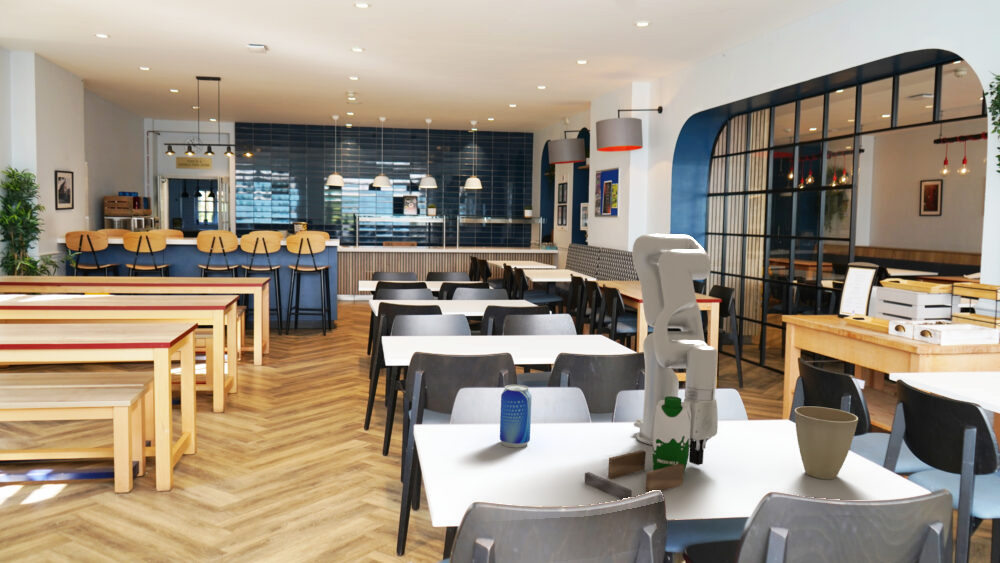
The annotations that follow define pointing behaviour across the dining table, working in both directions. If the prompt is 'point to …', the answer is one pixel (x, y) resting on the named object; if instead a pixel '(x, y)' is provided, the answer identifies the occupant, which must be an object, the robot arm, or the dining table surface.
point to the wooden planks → (633, 464)
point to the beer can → (515, 416)
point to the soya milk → (671, 433)
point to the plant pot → (824, 439)
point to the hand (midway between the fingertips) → (695, 463)
